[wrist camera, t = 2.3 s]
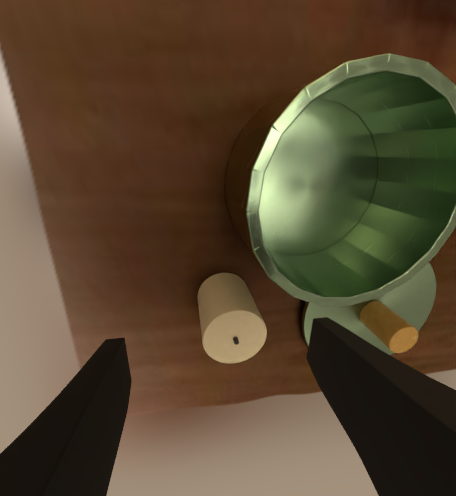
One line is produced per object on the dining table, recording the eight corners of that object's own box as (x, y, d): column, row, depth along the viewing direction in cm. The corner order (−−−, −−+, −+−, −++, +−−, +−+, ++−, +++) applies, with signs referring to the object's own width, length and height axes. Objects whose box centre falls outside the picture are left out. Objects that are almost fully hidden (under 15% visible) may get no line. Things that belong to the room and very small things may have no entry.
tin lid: (446, 244, 22) (509, 266, 18) (398, 356, 26) (439, 396, 22) (316, 236, 20) (353, 261, 15) (286, 362, 24) (308, 407, 20)
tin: (403, 104, 17) (519, 81, 11) (354, 262, 21) (422, 306, 15) (235, 74, 15) (271, 25, 9) (216, 257, 19) (232, 306, 13)
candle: (250, 272, 20) (274, 314, 15) (244, 316, 21) (263, 367, 16) (199, 271, 19) (205, 315, 14) (195, 316, 20) (200, 370, 15)
